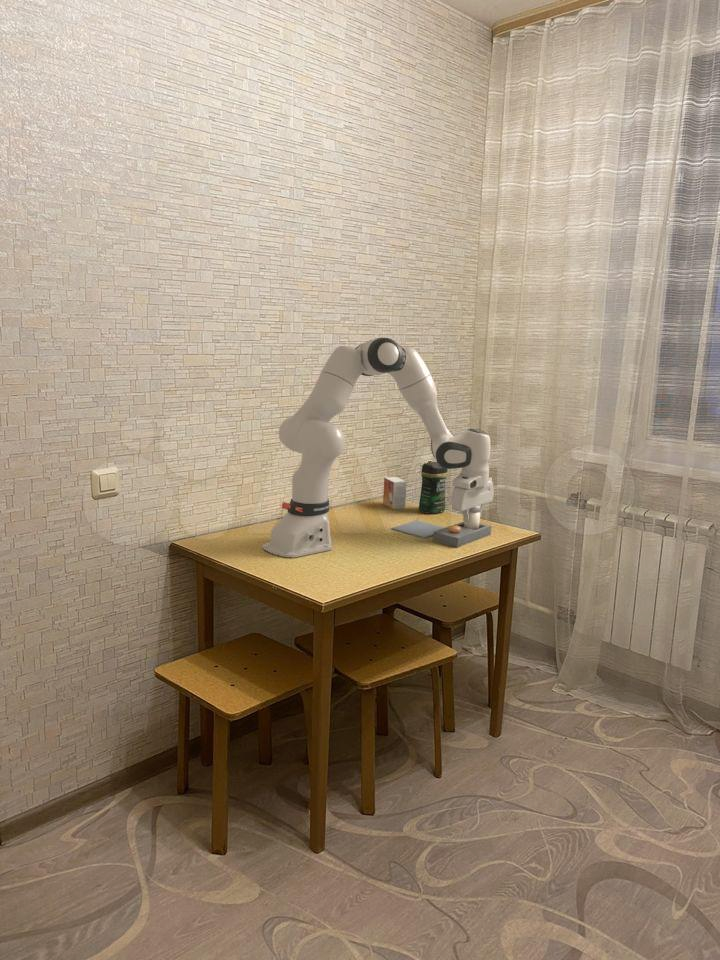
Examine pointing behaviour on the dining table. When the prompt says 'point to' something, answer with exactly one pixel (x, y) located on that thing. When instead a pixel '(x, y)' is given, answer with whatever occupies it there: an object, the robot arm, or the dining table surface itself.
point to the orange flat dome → (454, 529)
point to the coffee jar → (432, 488)
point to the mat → (418, 528)
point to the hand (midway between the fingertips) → (471, 519)
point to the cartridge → (473, 518)
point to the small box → (394, 492)
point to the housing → (461, 535)
